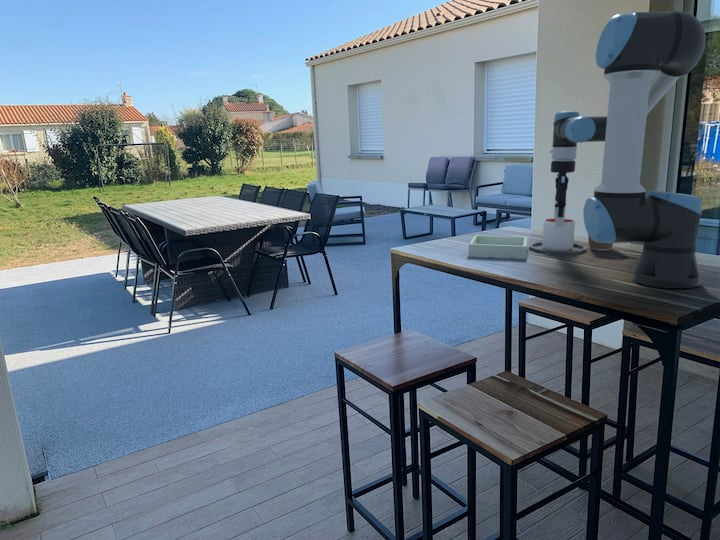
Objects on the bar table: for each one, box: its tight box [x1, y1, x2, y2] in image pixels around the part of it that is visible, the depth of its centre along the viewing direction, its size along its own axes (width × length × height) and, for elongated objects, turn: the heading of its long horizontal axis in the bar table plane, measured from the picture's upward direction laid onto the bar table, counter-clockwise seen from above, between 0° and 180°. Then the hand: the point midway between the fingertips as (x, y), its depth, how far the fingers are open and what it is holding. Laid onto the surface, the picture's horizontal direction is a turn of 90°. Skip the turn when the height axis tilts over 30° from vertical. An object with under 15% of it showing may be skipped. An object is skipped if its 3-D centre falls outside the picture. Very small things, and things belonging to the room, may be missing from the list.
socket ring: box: [528, 241, 588, 256], centre depth 177 cm, size 18×18×1 cm
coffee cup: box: [587, 234, 614, 251], centre depth 175 cm, size 10×10×12 cm
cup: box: [541, 218, 576, 251], centre depth 176 cm, size 10×10×10 cm
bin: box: [468, 234, 528, 260], centre depth 173 cm, size 18×18×4 cm
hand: (558, 223), depth 175 cm, fingers open, 13 cm apart
